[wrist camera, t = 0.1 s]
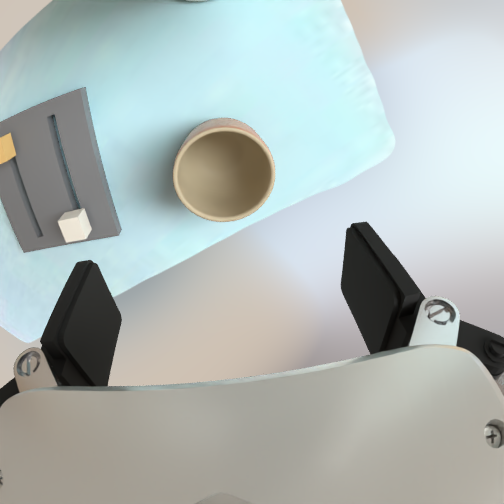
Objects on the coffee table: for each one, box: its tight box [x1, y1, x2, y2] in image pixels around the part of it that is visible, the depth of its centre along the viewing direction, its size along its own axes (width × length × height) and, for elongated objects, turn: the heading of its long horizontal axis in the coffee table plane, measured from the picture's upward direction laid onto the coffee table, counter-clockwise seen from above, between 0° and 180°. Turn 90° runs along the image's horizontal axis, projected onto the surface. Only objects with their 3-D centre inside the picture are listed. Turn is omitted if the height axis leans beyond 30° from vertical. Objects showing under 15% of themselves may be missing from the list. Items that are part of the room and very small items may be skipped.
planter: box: [173, 118, 275, 222], centre depth 40 cm, size 12×12×11 cm
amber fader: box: [0, 133, 16, 164], centre depth 35 cm, size 4×4×5 cm
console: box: [0, 87, 121, 253], centre depth 41 cm, size 25×22×2 cm
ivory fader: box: [58, 208, 92, 243], centre depth 44 cm, size 4×4×5 cm
